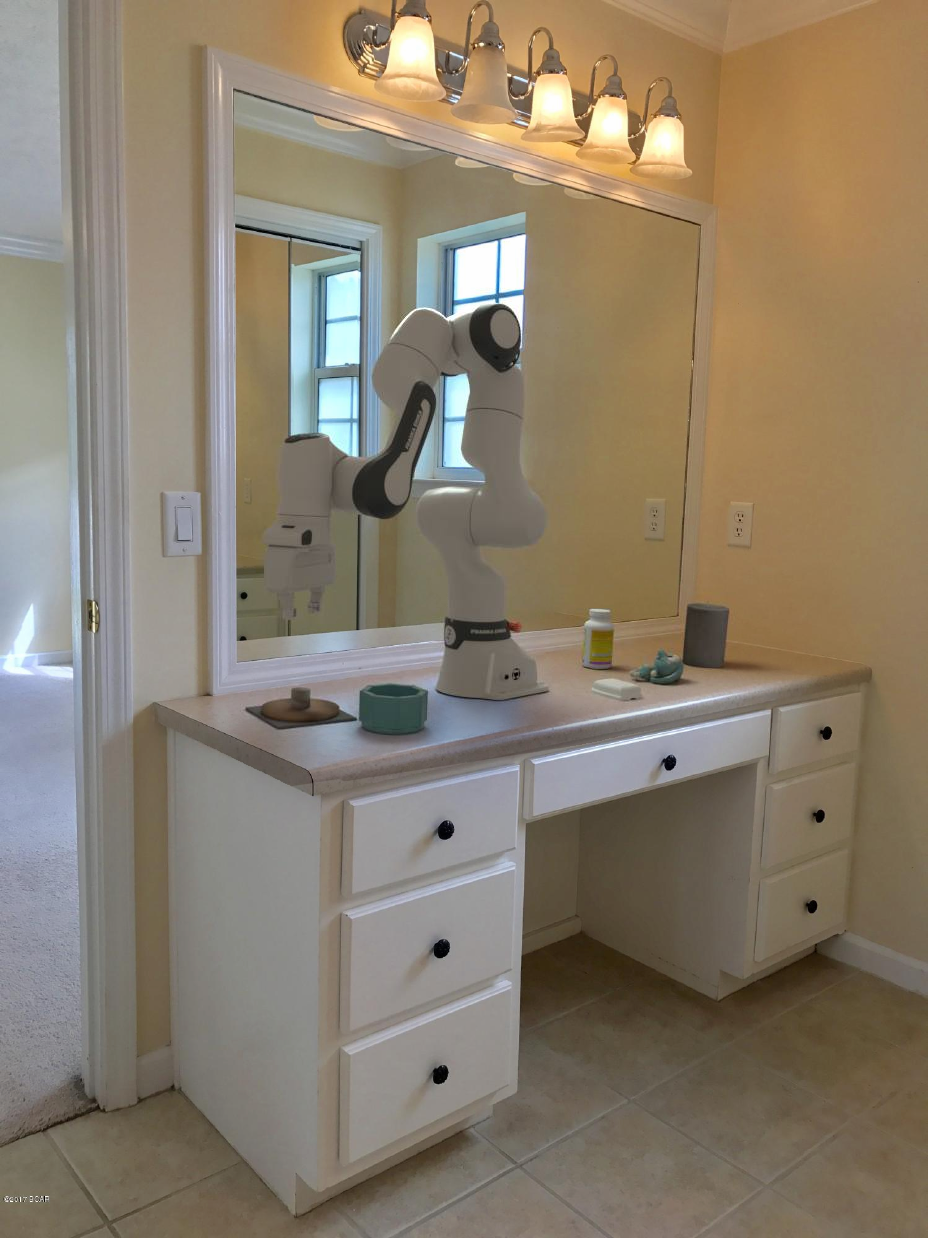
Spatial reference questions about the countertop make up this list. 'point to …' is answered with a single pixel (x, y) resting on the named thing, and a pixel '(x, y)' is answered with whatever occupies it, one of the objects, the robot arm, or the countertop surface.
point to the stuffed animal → (661, 669)
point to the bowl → (393, 708)
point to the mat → (282, 724)
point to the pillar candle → (705, 635)
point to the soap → (616, 689)
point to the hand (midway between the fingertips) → (301, 615)
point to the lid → (300, 708)
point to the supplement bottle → (598, 640)
